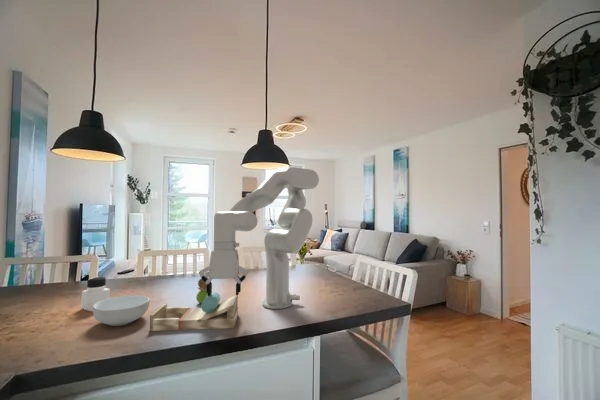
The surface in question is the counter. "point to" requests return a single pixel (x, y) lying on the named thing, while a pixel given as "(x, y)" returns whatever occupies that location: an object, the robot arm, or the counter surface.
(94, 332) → the counter surface
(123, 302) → the cereal bowl
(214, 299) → the roller
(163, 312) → the launch ramp
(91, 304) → the medicine bottle
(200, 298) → the snail figurine
